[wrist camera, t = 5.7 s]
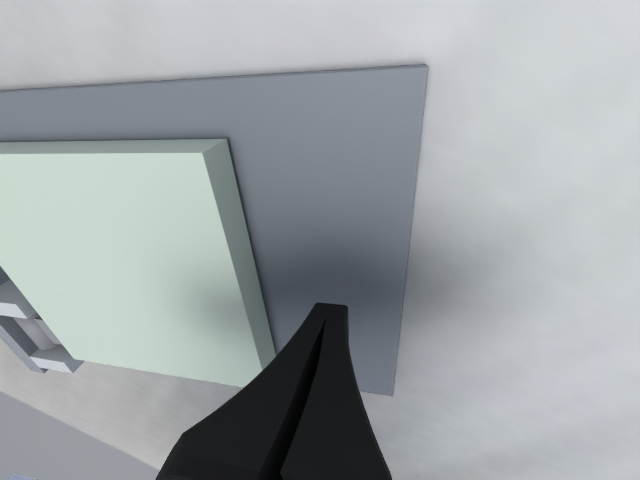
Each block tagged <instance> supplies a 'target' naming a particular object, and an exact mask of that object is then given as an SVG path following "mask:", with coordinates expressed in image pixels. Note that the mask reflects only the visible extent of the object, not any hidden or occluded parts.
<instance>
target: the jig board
mask: <svg viewBox="0 0 640 480" xmlns="http://www.w3.org/2000/svg"><path fill="white" fill-rule="evenodd" d="M428 68H429V67H428V66H427V65H426V64H422V65H406V66H390V67H374V68H358V69H342V70H326V71H310V72H294V73H278V74H262V75H246V76H230V77H214V78H198V79H182V80H165V81H149V82H133V83H117V84H101V85H85V86H69V87H53V88H37V89H21V90H5V91H0V142H52V141H114V140H177V139H227V143H228V147H229V152H230V156H231V161H232V165H233V169H234V174H235V178H236V183H237V187H238V192H239V196H240V200H241V205H242V209H243V214H244V218H245V222H246V227H247V231H248V236H249V240H250V244H251V249H252V253H253V258H254V262H255V266H256V271H257V275H258V280H259V284H260V288H261V293H262V297H263V302H264V306H265V310H266V315H267V319H268V324H269V328H270V332H271V337H272V341H273V346H274V350H275V354H276V356H277V354H278V353H279V352H280V351H281V350H282V349H283V347H284V346H285V345H286V344H287V343H288V341H289V340H290V339H291V338H292V336H293V335H294V334H295V332H296V331H297V330H298V328H299V327H300V326H301V324H302V323H303V321H304V320H305V319H306V317H307V316H308V314H309V313H310V311H311V309H312V308H313V306H314V304H315V303H317V302H320V303H330V304H340V305H346V306H347V307H348V317H349V349H350V355H351V360H352V364H353V369H354V373H355V377H356V381H357V385H358V388H359V391H362V392H368V393H375V394H381V395H387V396H393V393H394V383H395V374H396V365H397V356H398V346H399V337H400V328H401V318H402V309H403V300H404V291H405V281H406V272H407V263H408V253H409V244H410V235H411V225H412V216H413V207H414V198H415V188H416V179H417V170H418V160H419V151H420V142H421V133H422V123H423V114H424V105H425V95H426V86H427V77H428ZM35 313H36V310H35V309H34V308H33V307H32V305H31V304H30V303H29V301H28V300H27V299H26V298H25V296H24V295H23V294H22V293H21V291H20V290H19V289H18V288H17V286H16V285H15V284H14V282H13V281H12V280H11V279H10V277H9V276H8V275H7V274H6V272H5V271H4V270H3V269H2V267H1V266H0V338H1V339H2V340H3V341H4V342H5V343H6V344H7V345H8V346H9V347H10V348H11V350H12V351H13V352H14V353H15V354H16V355H17V356H18V357H19V358H20V359H21V360H22V361H23V362H24V363H25V364H26V366H27V367H28V368H29V369H30V370H31V371H35V372H41V373H45V372H46V371H47V370H48V369H51V370H57V371H62V372H68V373H73V372H74V371H75V370H76V369H77V368H78V367H79V366H80V365H81V364H82V363H83V362H84V361H83V360H77V359H74V358H73V357H72V356H71V355H70V353H69V352H68V351H67V350H66V348H65V347H64V346H63V345H61V344H59V345H57V346H55V347H53V348H51V349H47V350H41V349H39V348H38V346H37V345H36V344H35V343H34V342H33V341H32V339H31V338H30V337H29V336H28V335H27V334H26V333H25V331H24V330H23V329H22V328H21V327H20V326H19V324H18V323H17V322H16V321H15V320H14V319H13V317H18V318H25V319H28V318H30V317H31V316H32V315H34V314H35Z"/></svg>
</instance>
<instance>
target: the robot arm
mask: <svg viewBox="0 0 640 480" xmlns="http://www.w3.org/2000/svg"><path fill="white" fill-rule="evenodd" d="M6 480H37V479H34V478H29V477H26V476H23V475H19V474H15V473H14V474H11V475H10V476H9V477H8V478H7V479H6ZM156 480H392V477H391V474H390V471H389V469H388V467H387V464H386V462H385V460H384V457H383V455H382V453H381V450H380V448H379V445H378V443H377V440H376V438H375V435H374V433H373V430H372V427H371V425H370V422H369V419H368V416H367V413H366V411H365V408H364V405H363V401H362V398H361V395H360V392H359V388H358V385H357V381H356V377H355V373H354V369H353V364H352V360H351V355H350V349H349V317H348V307H347V306H346V305H340V304H330V303H320V302H317V303H315V304H314V306H313V308H312V309H311V311H310V313H309V314H308V316H307V317H306V319H305V320H304V321H303V323H302V324H301V326H300V327H299V328H298V330H297V331H296V332H295V334H294V335H293V336H292V338H291V339H290V340H289V341H288V343H287V344H286V345H285V346H284V347H283V349H282V350H281V351H280V352H279V353H278V354H277V356H276V357H275V358H274V359H273V360H272V361H271V362H270V363H269V364H268V365H267V366H266V367H265V368H264V369H263V370H262V371H261V372H260V373H259V374H258V375H257V376H256V377H255V378H254V379H253V380H252V381H251V382H250V383H249V384H247V385H246V386H245V387H244V388H243V389H242V390H241V391H240V392H238V393H237V394H236V395H235V396H234V397H232V398H231V399H230V400H228V401H227V402H226V403H225V404H223V405H222V406H221V407H220V408H218V409H217V410H216V411H214V412H213V413H212V414H210V415H209V416H207V417H206V418H205V419H203V420H202V421H200V422H199V423H197V424H196V425H194V426H193V427H191V428H190V429H188V430H187V431H185V432H184V433H183V434H182V435H181V437H180V438H179V440H178V441H177V443H176V444H175V446H174V447H173V449H172V450H171V452H170V454H169V456H168V457H167V459H166V461H165V463H164V465H163V466H162V468H161V470H160V472H159V474H158V476H157V478H156Z"/></svg>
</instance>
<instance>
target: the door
mask: <svg viewBox="0 0 640 480" xmlns="http://www.w3.org/2000/svg"><path fill="white" fill-rule="evenodd" d="M0 266H1V267H2V269H3V270H4V271H5V272H6V274H7V275H8V276H9V277H10V279H11V280H12V281H13V282H14V284H15V285H16V286H17V288H18V289H19V290H20V291H21V293H22V294H23V295H24V296H25V298H26V299H27V300H28V301H29V303H30V304H31V305H32V307H33V308H34V309H35V310H36V313H35V314H34V315H32V316H31V317H30V318H28V319H25V318H18V317H13V319H14V320H15V321H16V322H17V323H18V324H19V326H20V327H21V328H22V329H23V330H24V331H25V333H26V334H27V335H28V336H29V337H30V338H31V339H32V341H33V342H34V343H35V344H36V345H37V346H38V348H39V349H41V350H47V349H51V348H53V347H55V346H57V345H59V344H61V345H63V346H64V347H65V348H66V350H67V351H68V352H69V353H70V355H71V356H72V357H73V358H74V359H77V360H83V361H89V362H95V363H101V364H107V365H113V366H119V367H125V368H131V369H137V370H143V371H149V372H155V373H160V374H166V375H172V376H178V377H184V378H190V379H196V380H202V381H208V382H214V383H220V384H226V385H232V386H238V387H245V386H246V385H247V384H249V383H250V382H251V381H252V380H253V379H254V378H255V377H256V376H257V375H258V374H259V373H260V372H261V371H262V370H263V369H264V368H265V367H266V366H267V365H268V364H269V363H270V362H271V361H272V360H273V359H274V358H275V357H276V354H275V350H274V346H273V341H272V337H271V332H270V328H269V324H268V319H267V315H266V310H265V306H264V302H263V297H262V293H261V288H260V284H259V280H258V275H257V271H256V266H255V262H254V258H253V253H252V249H251V244H250V240H249V236H248V231H247V227H246V222H245V218H244V214H243V209H242V205H241V200H240V196H239V192H238V187H237V183H236V178H235V174H234V169H233V165H232V161H231V156H230V152H229V147H228V143H227V139H177V140H114V141H52V142H0Z"/></svg>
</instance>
